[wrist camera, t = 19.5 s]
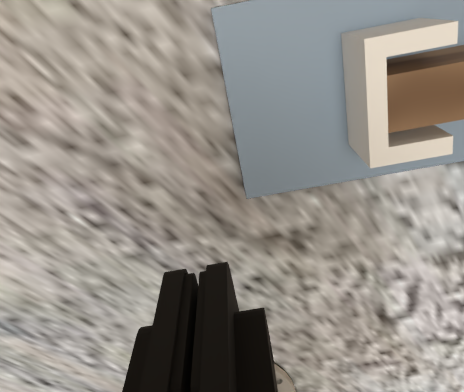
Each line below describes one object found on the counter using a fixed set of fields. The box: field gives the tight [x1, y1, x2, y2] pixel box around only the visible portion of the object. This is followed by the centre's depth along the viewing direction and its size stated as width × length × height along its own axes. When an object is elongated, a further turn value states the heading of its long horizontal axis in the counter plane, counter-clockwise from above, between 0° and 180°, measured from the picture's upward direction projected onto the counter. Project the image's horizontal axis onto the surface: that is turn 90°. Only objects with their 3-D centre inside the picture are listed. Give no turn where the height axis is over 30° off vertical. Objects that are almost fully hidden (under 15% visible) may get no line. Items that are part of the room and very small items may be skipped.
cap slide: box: [341, 18, 458, 168], centre depth 27 cm, size 8×5×5 cm, turn 10°
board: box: [211, 0, 464, 199], centre depth 30 cm, size 14×27×1 cm, turn 100°
